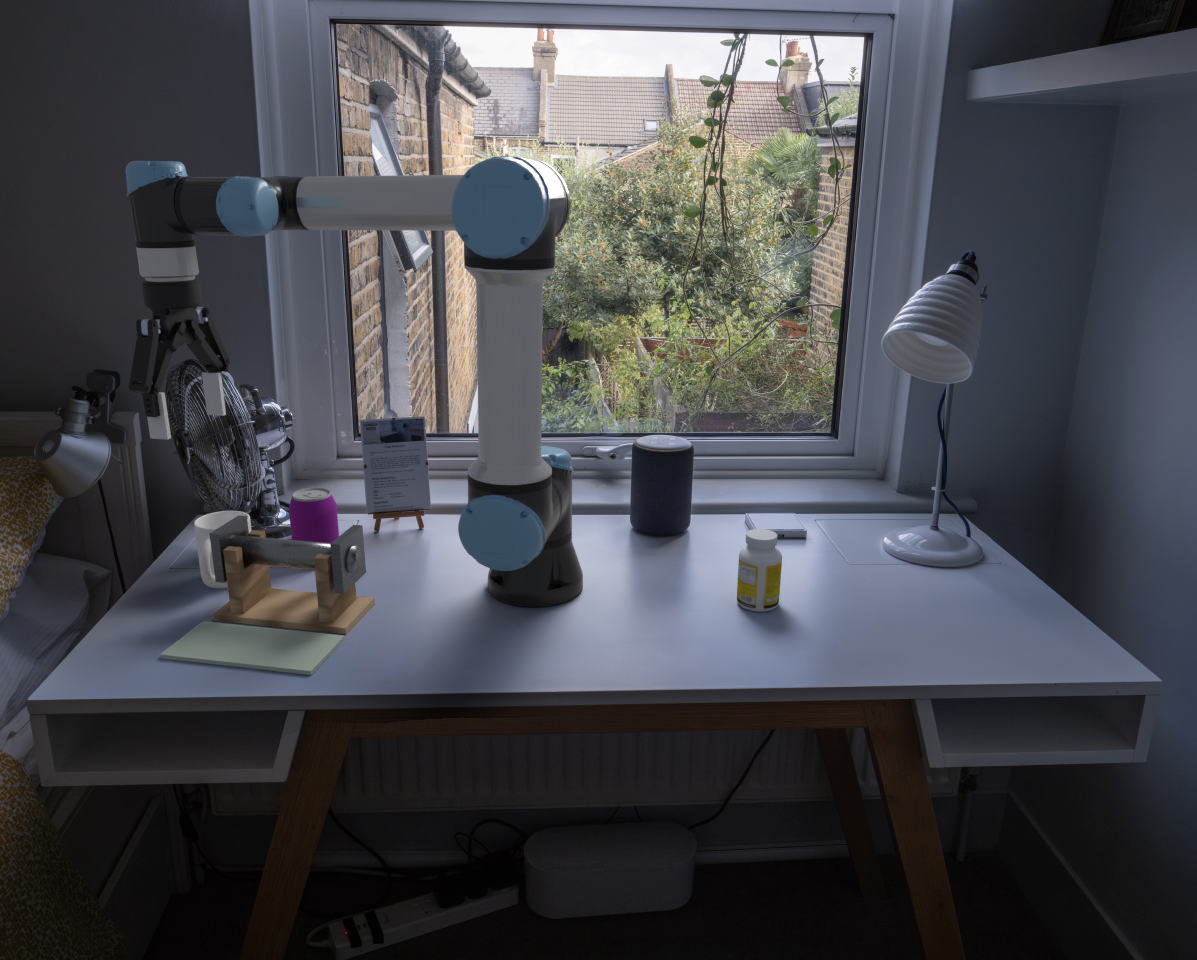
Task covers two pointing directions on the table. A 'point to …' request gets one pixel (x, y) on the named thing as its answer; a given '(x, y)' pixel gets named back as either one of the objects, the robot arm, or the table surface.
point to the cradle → (288, 598)
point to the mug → (202, 531)
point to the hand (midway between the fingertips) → (190, 426)
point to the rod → (291, 552)
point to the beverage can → (313, 515)
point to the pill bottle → (759, 571)
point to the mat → (254, 647)
